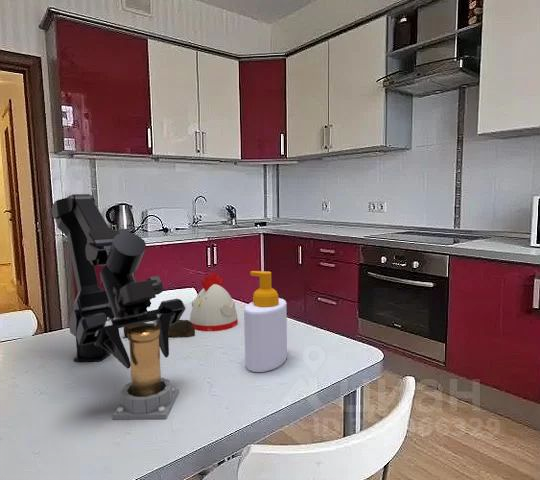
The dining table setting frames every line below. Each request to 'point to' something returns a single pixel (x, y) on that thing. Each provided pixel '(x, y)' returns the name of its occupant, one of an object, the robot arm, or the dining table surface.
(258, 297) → the soap bottle
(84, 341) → the robot arm
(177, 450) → the dining table surface
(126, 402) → the socket
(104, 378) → the dining table surface
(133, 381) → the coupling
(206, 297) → the kitchen timer
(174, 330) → the hand tool
